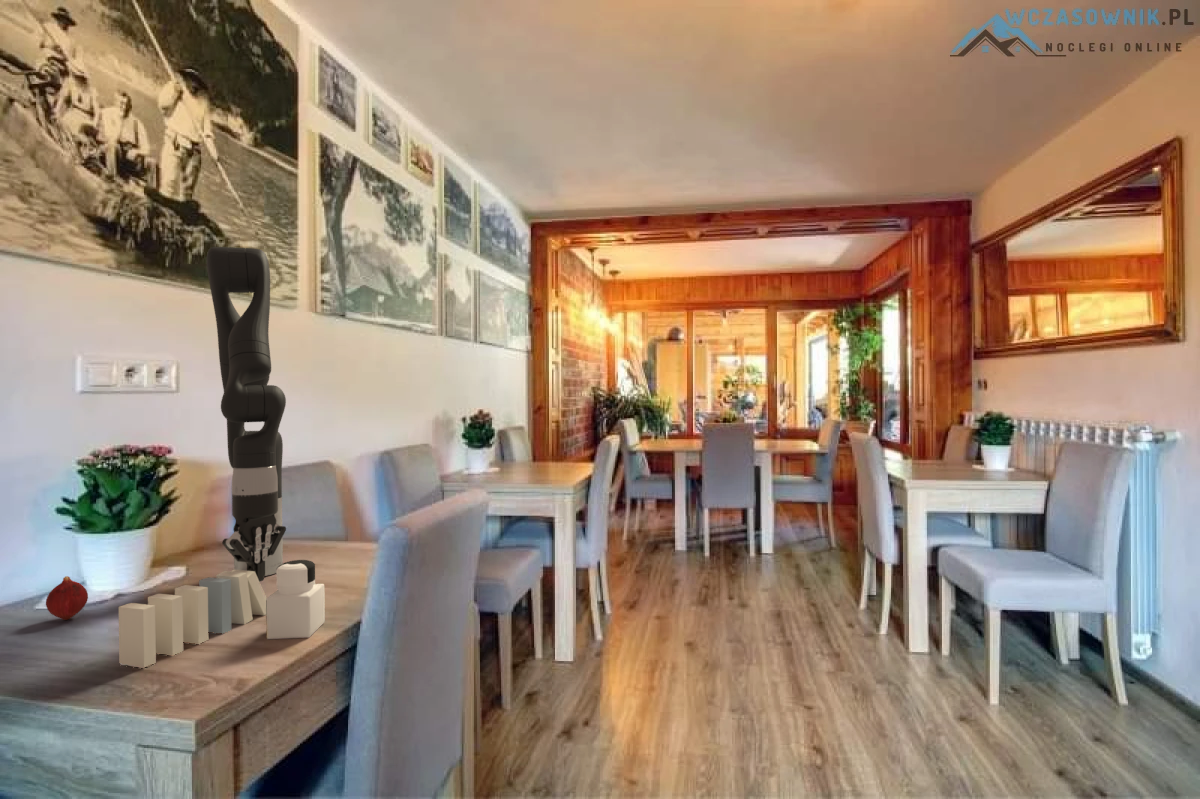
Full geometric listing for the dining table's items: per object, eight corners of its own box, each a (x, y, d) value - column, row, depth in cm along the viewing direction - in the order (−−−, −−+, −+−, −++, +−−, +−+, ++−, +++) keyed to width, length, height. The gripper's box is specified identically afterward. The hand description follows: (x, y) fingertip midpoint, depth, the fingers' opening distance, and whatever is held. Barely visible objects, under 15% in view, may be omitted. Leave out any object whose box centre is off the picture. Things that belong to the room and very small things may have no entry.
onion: (95, 615, 112) (95, 573, 112) (59, 627, 107) (58, 582, 107) (75, 612, 114) (74, 570, 114) (38, 623, 109) (38, 579, 109)
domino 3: (175, 641, 100) (174, 588, 100) (185, 637, 102) (184, 585, 101) (198, 644, 98) (198, 590, 98) (208, 640, 100) (207, 587, 100)
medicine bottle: (284, 624, 107) (283, 557, 107) (325, 622, 108) (324, 556, 108) (265, 640, 100) (264, 569, 100) (309, 638, 101) (308, 567, 101)
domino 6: (243, 613, 113) (225, 576, 109) (250, 606, 114) (233, 569, 111) (264, 615, 111) (247, 577, 108) (271, 608, 113) (254, 571, 109)
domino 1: (119, 665, 91) (118, 606, 91) (131, 660, 93) (130, 602, 93) (144, 668, 90) (143, 609, 90) (155, 663, 92) (155, 605, 91)
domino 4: (199, 631, 104) (199, 580, 104) (209, 627, 106) (208, 577, 106) (222, 634, 103) (221, 582, 103) (231, 630, 105) (230, 579, 104)
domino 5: (222, 621, 108) (216, 575, 107) (230, 617, 110) (224, 571, 109) (244, 624, 107) (238, 577, 106) (252, 619, 109) (246, 572, 108)
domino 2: (148, 653, 95) (147, 597, 95) (159, 648, 97) (158, 593, 97) (172, 656, 94) (171, 599, 94) (183, 651, 96) (182, 595, 96)
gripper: (241, 496, 105) (242, 594, 105) (297, 485, 118) (299, 572, 118) (208, 495, 107) (209, 591, 107) (267, 484, 120) (268, 570, 120)
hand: (256, 581), depth 113 cm, fingers closed
